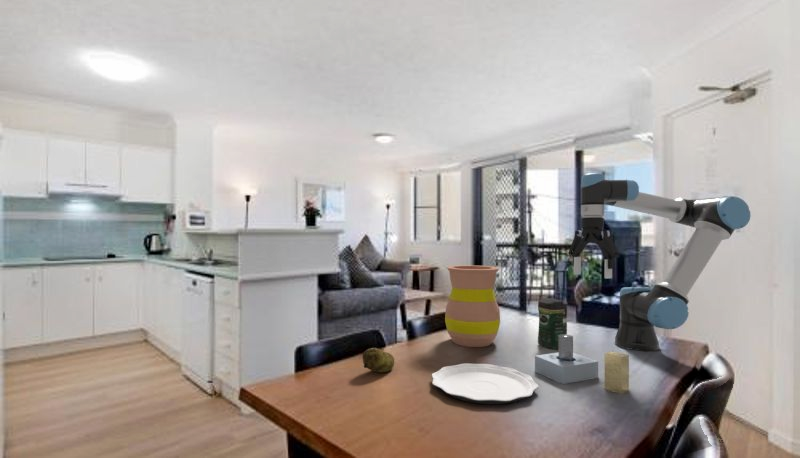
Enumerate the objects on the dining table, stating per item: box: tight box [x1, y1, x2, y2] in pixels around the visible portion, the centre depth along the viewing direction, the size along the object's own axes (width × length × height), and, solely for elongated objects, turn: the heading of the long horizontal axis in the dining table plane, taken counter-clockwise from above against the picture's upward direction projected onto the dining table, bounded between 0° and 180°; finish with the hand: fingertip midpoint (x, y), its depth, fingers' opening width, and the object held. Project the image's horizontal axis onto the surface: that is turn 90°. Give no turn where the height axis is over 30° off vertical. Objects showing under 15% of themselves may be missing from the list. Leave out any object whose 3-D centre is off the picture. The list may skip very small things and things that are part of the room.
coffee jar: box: [537, 297, 564, 350], centre depth 163 cm, size 10×8×19 cm
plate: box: [430, 362, 539, 405], centre depth 120 cm, size 29×29×2 cm
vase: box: [444, 264, 501, 348], centre depth 169 cm, size 22×22×30 cm
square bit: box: [604, 350, 630, 395], centre depth 119 cm, size 5×5×10 cm
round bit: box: [558, 334, 574, 361], centre depth 131 cm, size 4×4×12 cm
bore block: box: [534, 351, 599, 385], centre depth 131 cm, size 14×12×5 cm
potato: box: [362, 347, 395, 374], centre depth 132 cm, size 8×13×8 cm, turn 127°
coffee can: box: [561, 300, 569, 335], centre depth 183 cm, size 10×10×14 cm
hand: (592, 276), depth 150 cm, fingers open, 13 cm apart
